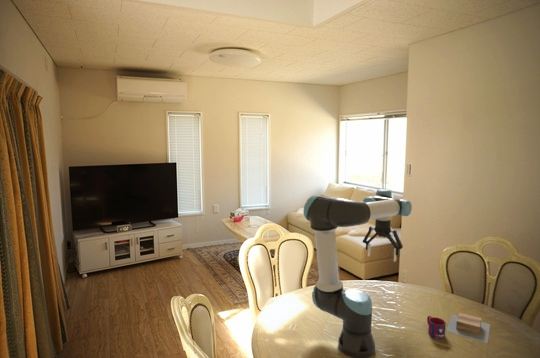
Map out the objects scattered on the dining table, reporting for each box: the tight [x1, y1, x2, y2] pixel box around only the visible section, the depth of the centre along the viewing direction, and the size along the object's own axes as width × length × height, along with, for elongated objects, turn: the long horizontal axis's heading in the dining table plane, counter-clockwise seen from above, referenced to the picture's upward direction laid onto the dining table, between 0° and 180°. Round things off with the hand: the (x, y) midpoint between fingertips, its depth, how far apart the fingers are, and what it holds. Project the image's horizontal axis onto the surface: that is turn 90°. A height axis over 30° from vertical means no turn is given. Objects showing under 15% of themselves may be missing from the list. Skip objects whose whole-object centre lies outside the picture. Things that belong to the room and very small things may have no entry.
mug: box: [426, 315, 447, 340], centre depth 154 cm, size 7×10×7 cm
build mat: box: [445, 314, 491, 344], centre depth 157 cm, size 18×16×1 cm
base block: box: [456, 312, 482, 335], centre depth 157 cm, size 9×9×4 cm
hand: (381, 258), depth 179 cm, fingers open, 13 cm apart
